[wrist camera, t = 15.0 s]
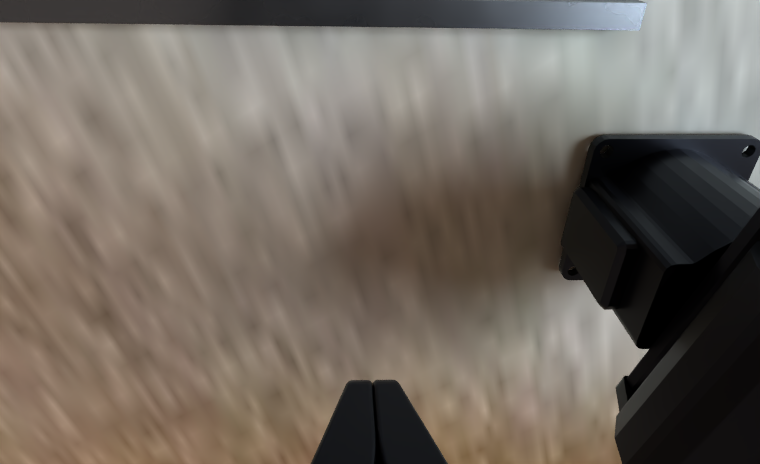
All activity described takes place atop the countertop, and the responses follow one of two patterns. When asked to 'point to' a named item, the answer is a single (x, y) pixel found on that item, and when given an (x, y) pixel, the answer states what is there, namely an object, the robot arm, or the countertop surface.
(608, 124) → the countertop surface
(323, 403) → the countertop surface
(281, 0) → the track
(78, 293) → the countertop surface
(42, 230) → the countertop surface
